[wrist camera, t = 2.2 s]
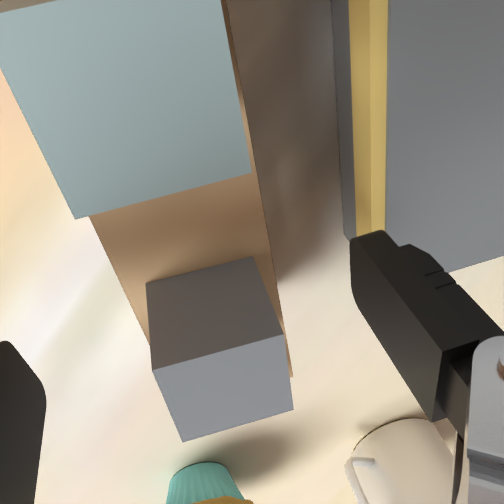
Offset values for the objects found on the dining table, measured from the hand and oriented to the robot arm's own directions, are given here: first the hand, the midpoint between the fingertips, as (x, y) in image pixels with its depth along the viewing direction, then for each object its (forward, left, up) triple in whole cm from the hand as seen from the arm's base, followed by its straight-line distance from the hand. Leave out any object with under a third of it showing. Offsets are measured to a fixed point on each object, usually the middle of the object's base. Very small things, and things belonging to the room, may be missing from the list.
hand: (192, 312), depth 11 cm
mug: (-11, +33, -12) cm, 36 cm away
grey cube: (0, +5, -5) cm, 7 cm away
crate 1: (0, -5, -5) cm, 7 cm away
